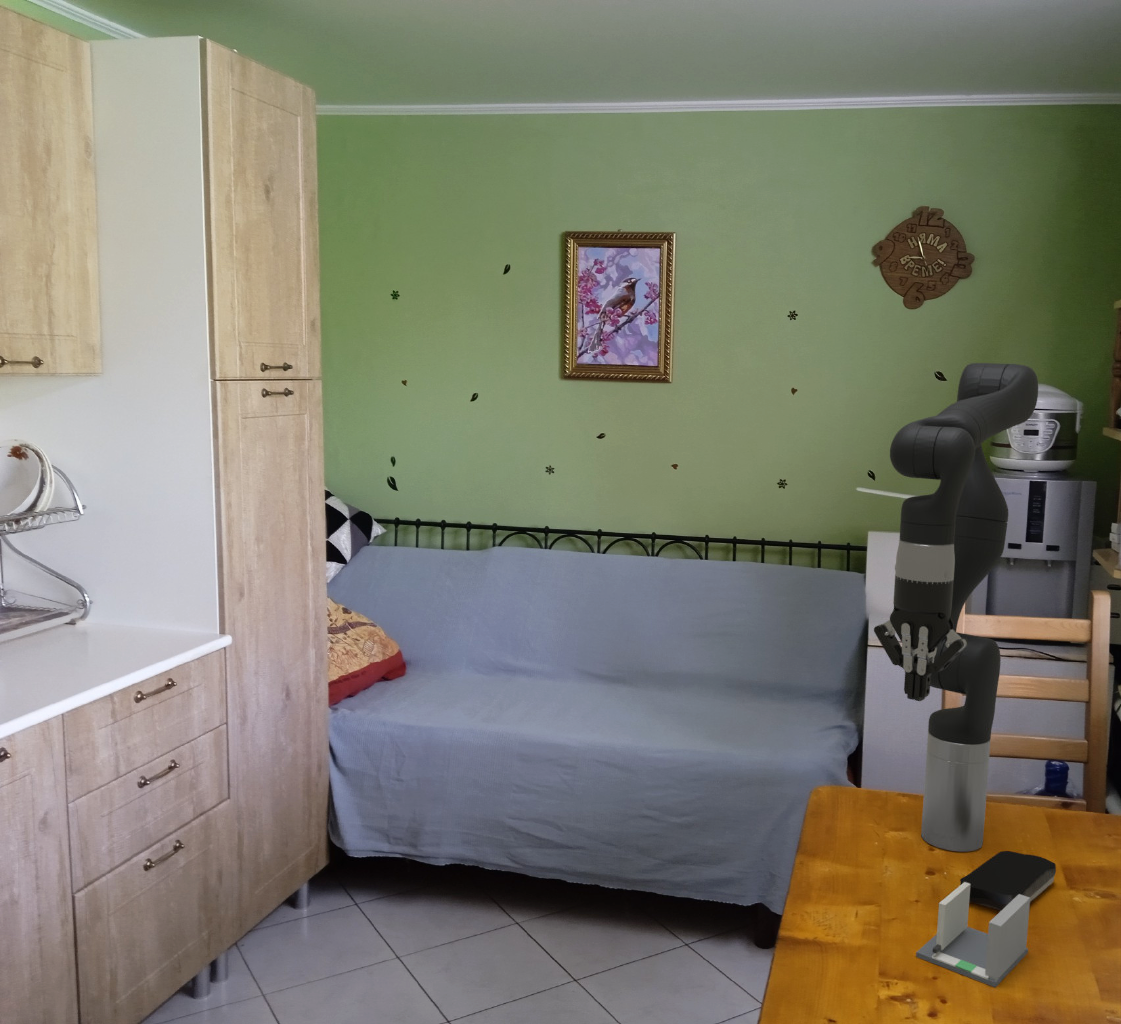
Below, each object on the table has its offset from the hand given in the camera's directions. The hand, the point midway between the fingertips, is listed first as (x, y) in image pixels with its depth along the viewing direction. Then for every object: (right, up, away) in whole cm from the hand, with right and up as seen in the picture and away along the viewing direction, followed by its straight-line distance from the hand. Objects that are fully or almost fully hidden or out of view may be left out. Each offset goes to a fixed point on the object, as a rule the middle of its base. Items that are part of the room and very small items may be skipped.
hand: (916, 698), depth 151 cm
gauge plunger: (+1, -29, -9) cm, 31 cm away
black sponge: (+15, -29, +7) cm, 34 cm away
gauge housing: (+4, -31, -11) cm, 33 cm away
